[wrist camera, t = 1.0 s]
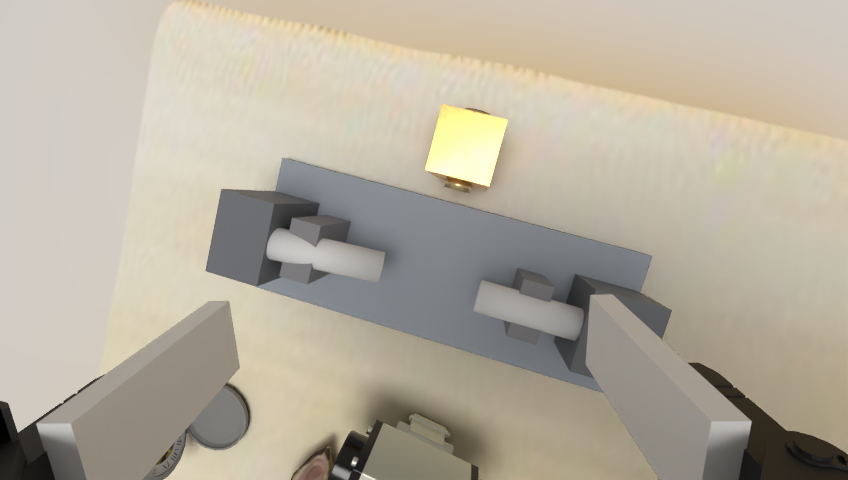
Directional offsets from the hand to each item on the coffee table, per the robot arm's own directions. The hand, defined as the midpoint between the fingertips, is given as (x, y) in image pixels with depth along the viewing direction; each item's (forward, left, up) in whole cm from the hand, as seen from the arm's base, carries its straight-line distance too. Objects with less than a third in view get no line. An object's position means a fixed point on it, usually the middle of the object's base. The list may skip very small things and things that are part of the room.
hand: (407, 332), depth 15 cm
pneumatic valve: (-9, +15, -21) cm, 27 cm away
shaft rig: (0, +2, -21) cm, 21 cm away
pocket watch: (+8, +28, -21) cm, 36 cm away
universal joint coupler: (+4, -8, -21) cm, 23 cm away
